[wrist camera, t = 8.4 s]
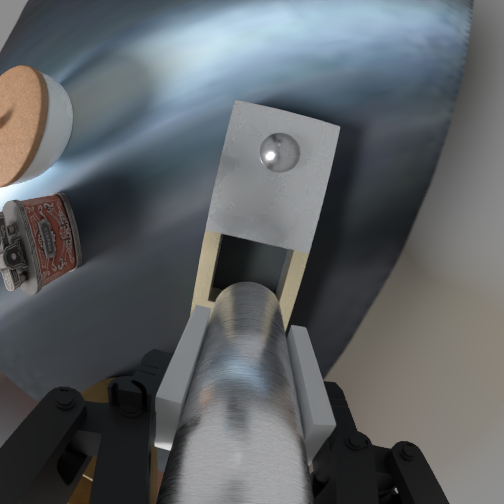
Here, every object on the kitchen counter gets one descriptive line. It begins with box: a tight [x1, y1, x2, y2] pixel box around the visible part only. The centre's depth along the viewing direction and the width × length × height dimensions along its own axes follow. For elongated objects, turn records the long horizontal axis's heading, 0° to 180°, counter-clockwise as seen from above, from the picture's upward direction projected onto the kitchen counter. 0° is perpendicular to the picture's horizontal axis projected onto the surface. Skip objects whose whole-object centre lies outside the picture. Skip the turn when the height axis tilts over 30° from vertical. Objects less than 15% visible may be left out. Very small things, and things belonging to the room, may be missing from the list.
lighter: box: [0, 192, 82, 296], centre depth 20 cm, size 8×3×10 cm, turn 10°
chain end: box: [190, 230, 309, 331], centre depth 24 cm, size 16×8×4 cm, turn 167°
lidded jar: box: [0, 65, 73, 187], centre depth 17 cm, size 11×11×9 cm
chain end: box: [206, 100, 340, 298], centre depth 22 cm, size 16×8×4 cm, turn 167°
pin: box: [156, 282, 314, 504], centre depth 10 cm, size 4×4×15 cm
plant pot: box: [67, 378, 157, 504], centre depth 22 cm, size 15×15×16 cm
